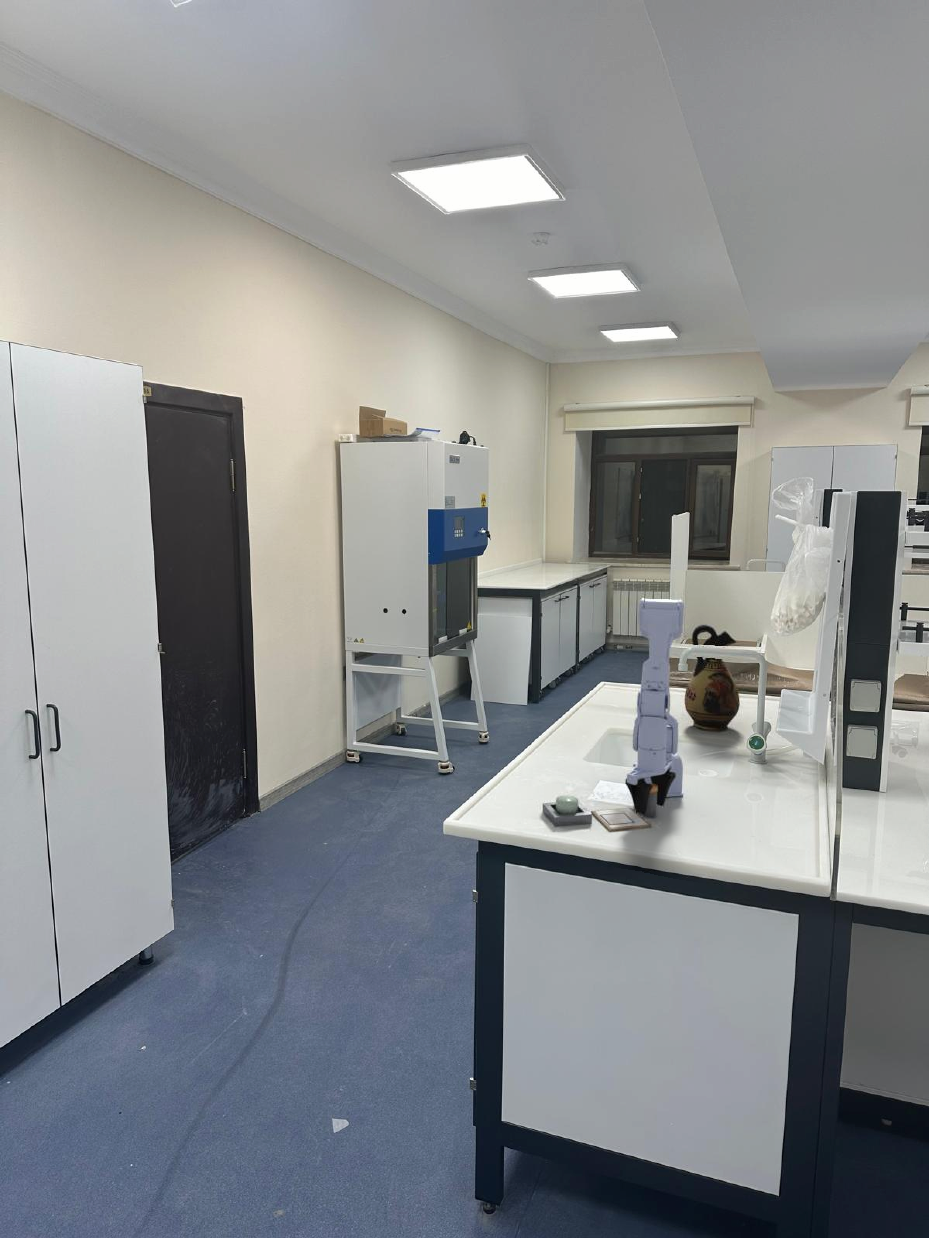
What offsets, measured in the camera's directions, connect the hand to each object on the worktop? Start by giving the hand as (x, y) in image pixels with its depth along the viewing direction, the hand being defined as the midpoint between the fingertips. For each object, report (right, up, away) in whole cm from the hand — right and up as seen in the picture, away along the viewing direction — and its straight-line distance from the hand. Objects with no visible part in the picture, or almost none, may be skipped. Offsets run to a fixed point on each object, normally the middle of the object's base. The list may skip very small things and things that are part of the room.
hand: (649, 808), depth 171 cm
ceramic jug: (+33, +8, +68) cm, 76 cm away
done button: (-18, 0, -1) cm, 18 cm away
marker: (0, -1, 0) cm, 1 cm away
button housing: (-18, -2, -1) cm, 18 cm away
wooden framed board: (-7, -2, -2) cm, 7 cm away
